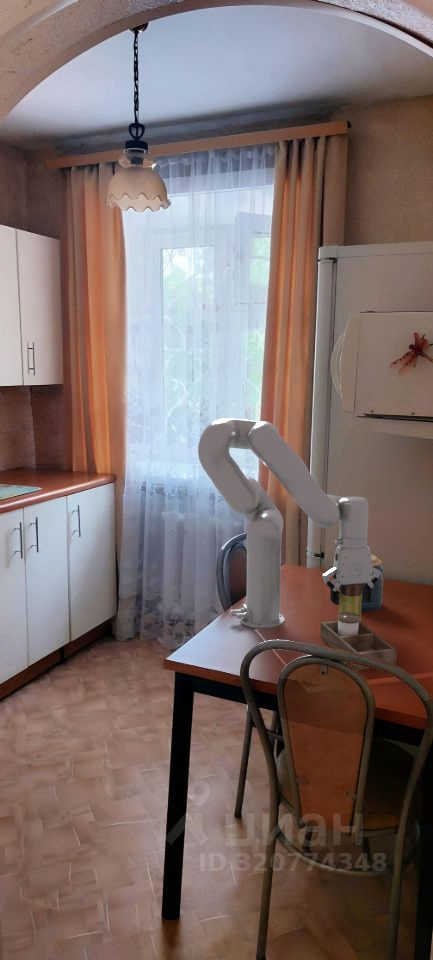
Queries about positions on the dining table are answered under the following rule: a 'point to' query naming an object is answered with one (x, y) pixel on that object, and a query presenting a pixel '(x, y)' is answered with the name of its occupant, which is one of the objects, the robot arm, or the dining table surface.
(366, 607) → the canister
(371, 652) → the caddy
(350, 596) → the sauce bottle
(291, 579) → the dining table surface
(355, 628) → the spice jar
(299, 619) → the dining table surface
